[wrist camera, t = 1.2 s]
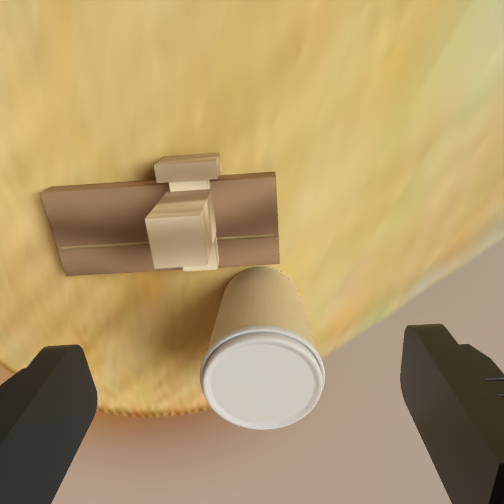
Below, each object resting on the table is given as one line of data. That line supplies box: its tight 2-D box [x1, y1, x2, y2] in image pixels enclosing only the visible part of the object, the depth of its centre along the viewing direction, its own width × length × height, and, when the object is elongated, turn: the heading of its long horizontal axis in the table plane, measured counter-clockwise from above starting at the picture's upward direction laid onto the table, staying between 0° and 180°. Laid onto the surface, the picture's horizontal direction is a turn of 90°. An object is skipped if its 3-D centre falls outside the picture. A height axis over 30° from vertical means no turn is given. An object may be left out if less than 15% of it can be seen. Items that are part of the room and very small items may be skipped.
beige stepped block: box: [145, 153, 221, 271], centre depth 29 cm, size 9×5×10 cm, turn 4°
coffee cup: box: [200, 267, 325, 429], centre depth 33 cm, size 9×9×12 cm
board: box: [40, 172, 280, 276], centre depth 34 cm, size 8×20×2 cm, turn 94°
